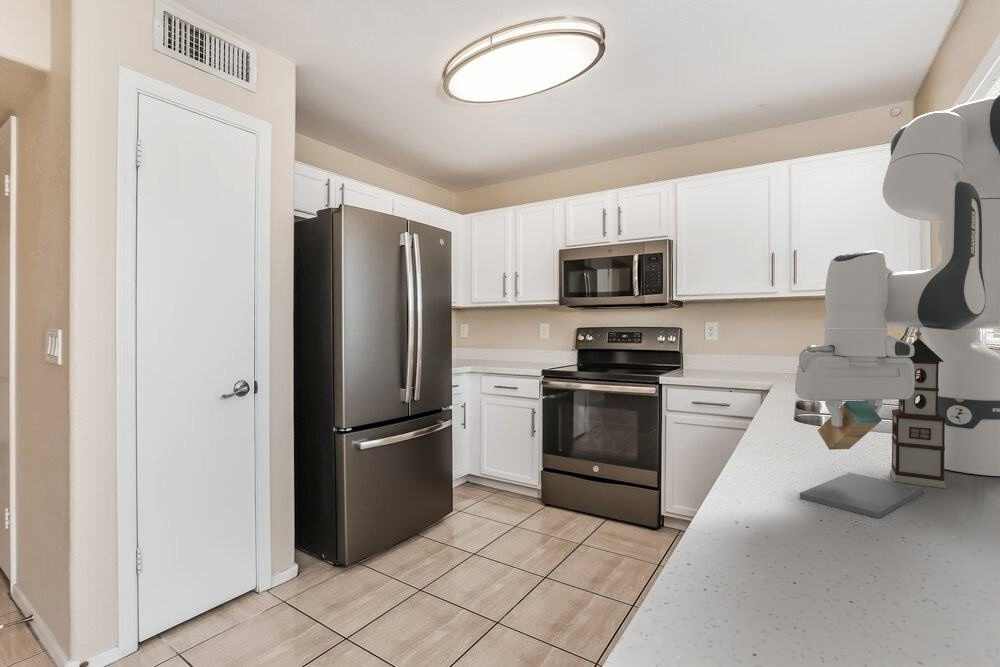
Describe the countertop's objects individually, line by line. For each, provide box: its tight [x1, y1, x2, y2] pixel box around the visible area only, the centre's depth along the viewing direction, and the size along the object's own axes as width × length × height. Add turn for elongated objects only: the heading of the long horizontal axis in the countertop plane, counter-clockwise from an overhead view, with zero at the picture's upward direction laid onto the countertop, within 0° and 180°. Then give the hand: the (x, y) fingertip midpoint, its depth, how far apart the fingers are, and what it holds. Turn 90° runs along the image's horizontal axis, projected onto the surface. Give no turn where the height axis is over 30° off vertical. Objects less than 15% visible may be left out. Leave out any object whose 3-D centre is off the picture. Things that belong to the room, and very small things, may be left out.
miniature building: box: [889, 327, 947, 489], centre depth 93 cm, size 7×7×30 cm
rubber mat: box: [799, 472, 924, 519], centre depth 85 cm, size 20×11×1 cm, turn 125°
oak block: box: [817, 400, 883, 451], centre depth 87 cm, size 4×4×9 cm
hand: (853, 425), depth 86 cm, fingers closed on oak block, 4 cm apart
